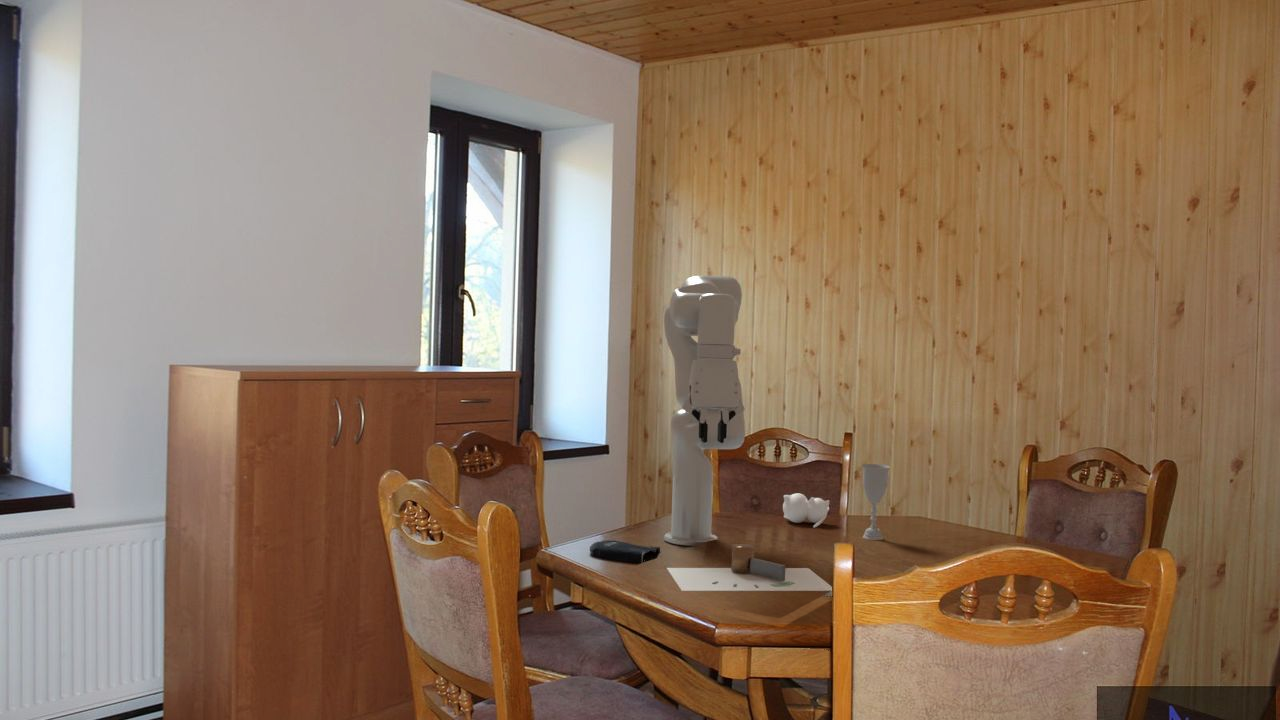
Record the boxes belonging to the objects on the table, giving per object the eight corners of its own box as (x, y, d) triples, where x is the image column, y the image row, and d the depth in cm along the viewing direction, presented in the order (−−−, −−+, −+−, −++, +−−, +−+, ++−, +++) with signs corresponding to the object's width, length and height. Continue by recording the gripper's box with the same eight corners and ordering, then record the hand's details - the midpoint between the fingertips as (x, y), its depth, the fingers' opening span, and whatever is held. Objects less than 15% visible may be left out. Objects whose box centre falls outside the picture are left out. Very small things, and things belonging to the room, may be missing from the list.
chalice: (893, 540, 248) (896, 467, 248) (869, 541, 246) (872, 468, 245) (875, 534, 255) (878, 463, 255) (852, 535, 253) (855, 464, 252)
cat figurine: (830, 489, 267) (784, 484, 270) (825, 516, 258) (779, 510, 261) (829, 513, 271) (785, 508, 275) (825, 541, 263) (779, 535, 266)
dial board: (666, 573, 206) (666, 567, 206) (808, 573, 210) (808, 567, 210) (681, 597, 188) (681, 589, 188) (836, 596, 192) (836, 589, 192)
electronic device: (661, 564, 222) (602, 546, 228) (663, 541, 220) (604, 523, 227) (641, 578, 214) (581, 559, 220) (643, 554, 212) (583, 535, 219)
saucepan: (726, 570, 205) (727, 545, 204) (740, 567, 208) (741, 543, 207) (776, 582, 195) (777, 557, 195) (790, 579, 199) (791, 554, 198)
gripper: (749, 354, 213) (746, 440, 213) (673, 351, 211) (670, 439, 211) (758, 355, 205) (755, 445, 206) (679, 352, 203) (676, 443, 204)
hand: (712, 441), depth 208 cm, fingers open, 2 cm apart
